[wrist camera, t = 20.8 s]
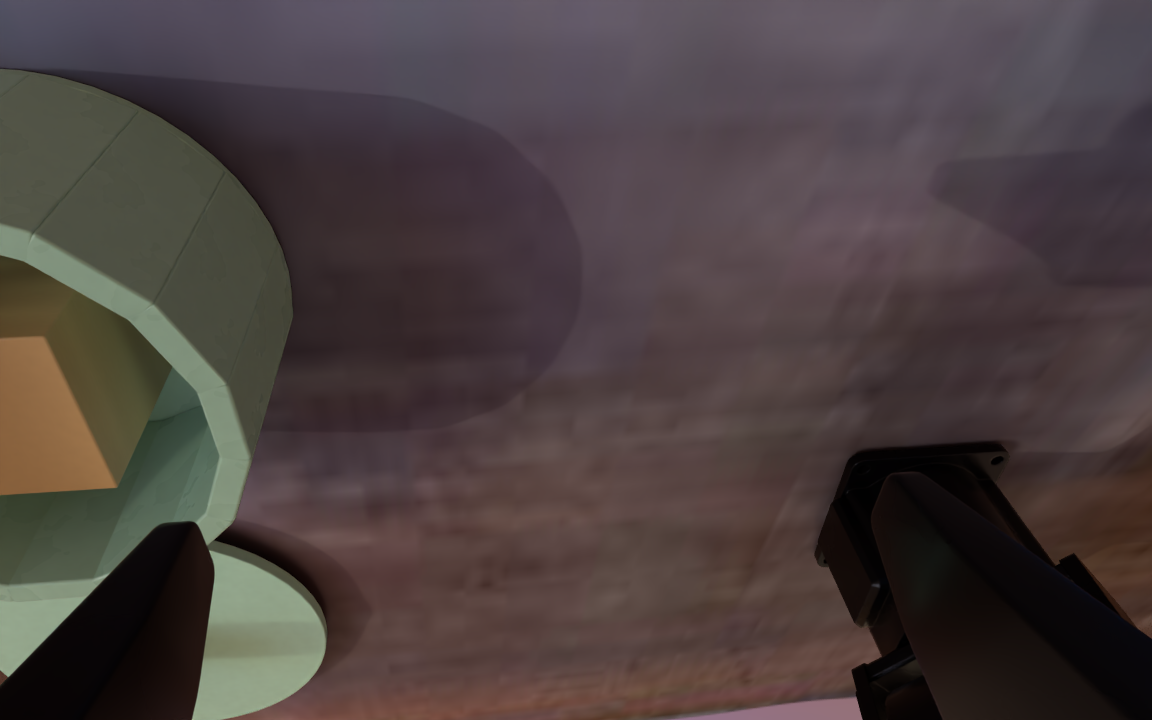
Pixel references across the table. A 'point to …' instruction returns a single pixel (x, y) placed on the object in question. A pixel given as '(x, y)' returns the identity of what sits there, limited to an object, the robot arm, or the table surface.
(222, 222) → the tin
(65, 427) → the block
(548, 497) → the table surface
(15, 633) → the lid
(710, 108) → the table surface
